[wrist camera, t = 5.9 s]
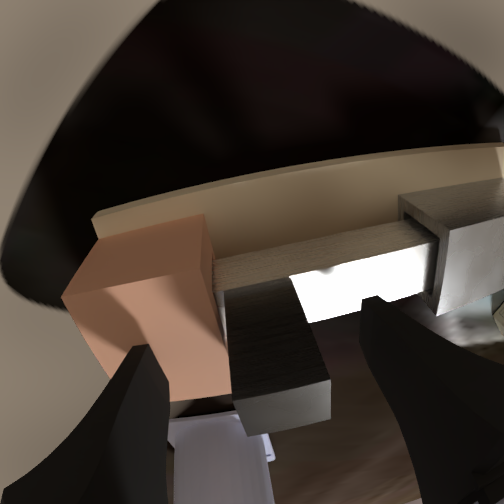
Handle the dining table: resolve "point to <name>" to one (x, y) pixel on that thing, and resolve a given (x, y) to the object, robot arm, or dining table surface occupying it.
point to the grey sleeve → (461, 240)
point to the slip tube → (307, 312)
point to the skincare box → (500, 318)
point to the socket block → (155, 304)
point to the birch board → (307, 197)
